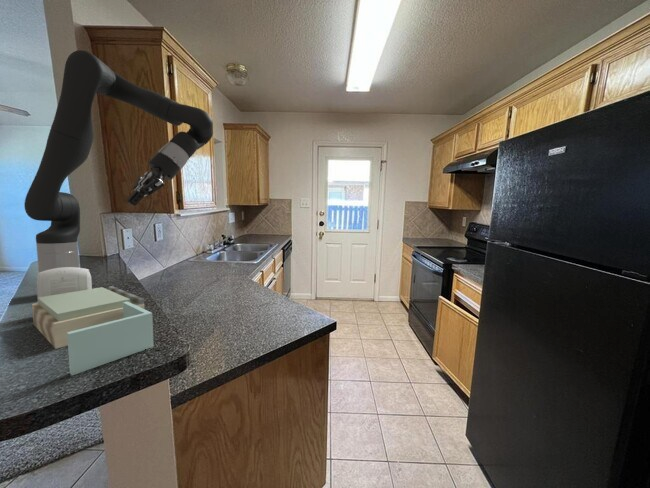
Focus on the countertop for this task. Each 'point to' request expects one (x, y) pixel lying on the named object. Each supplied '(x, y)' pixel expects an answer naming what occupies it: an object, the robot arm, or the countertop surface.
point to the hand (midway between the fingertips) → (130, 203)
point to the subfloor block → (77, 320)
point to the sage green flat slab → (81, 303)
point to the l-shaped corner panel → (110, 339)
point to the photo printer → (63, 281)
